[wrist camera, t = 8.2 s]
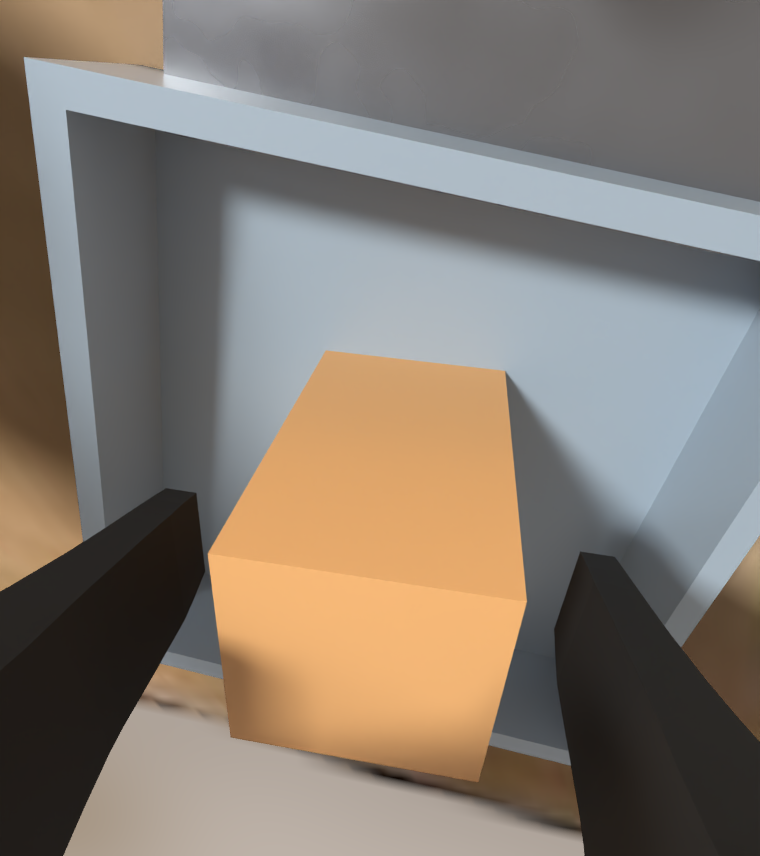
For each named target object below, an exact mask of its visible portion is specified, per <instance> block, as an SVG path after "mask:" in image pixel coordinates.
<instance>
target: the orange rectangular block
mask: <svg viewBox="0 0 760 856" xmlns="http://www.w3.org/2000/svg"><path fill="white" fill-rule="evenodd" d="M208 560H209V568H210V576H211V584H212V592H213V600H214V608H215V616H216V624H217V632H218V640H219V648H220V656H221V664H222V672H223V679H224V687H225V695H226V703H227V711H228V719H229V727H230V735H231V737H232V738H237V739H242V740H248V741H253V742H259V743H264V744H270V745H275V746H281V747H286V748H292V749H297V750H303V751H308V752H314V753H319V754H325V755H330V756H336V757H341V758H347V759H352V760H358V761H363V762H369V763H374V764H380V765H385V766H391V767H396V768H402V769H407V770H413V771H418V772H424V773H429V774H435V775H440V776H446V777H451V778H457V779H462V780H468V781H473V782H479V778H480V774H481V771H482V767H483V763H484V760H485V756H486V752H487V748H488V745H489V741H490V737H491V733H492V730H493V726H494V722H495V719H496V715H497V711H498V707H499V704H500V700H501V696H502V693H503V689H504V685H505V681H506V678H507V674H508V670H509V667H510V663H511V659H512V655H513V652H514V648H515V644H516V641H517V637H518V633H519V629H520V626H521V622H522V618H523V615H524V611H525V607H526V603H527V598H526V587H525V576H524V566H523V555H522V545H521V534H520V523H519V513H518V502H517V492H516V481H515V470H514V460H513V449H512V439H511V428H510V417H509V407H508V396H507V386H506V375H505V371H502V370H494V369H485V368H476V367H467V366H459V365H450V364H441V363H432V362H424V361H415V360H406V359H397V358H389V357H380V356H371V355H362V354H354V353H345V352H336V351H327V350H326V351H325V353H324V354H323V356H322V358H321V360H320V361H319V363H318V365H317V366H316V368H315V370H314V372H313V373H312V375H311V377H310V378H309V380H308V382H307V384H306V385H305V387H304V389H303V391H302V392H301V394H300V396H299V397H298V399H297V401H296V403H295V404H294V406H293V408H292V409H291V411H290V413H289V415H288V416H287V418H286V420H285V421H284V423H283V425H282V427H281V428H280V430H279V432H278V434H277V435H276V437H275V439H274V440H273V442H272V444H271V446H270V447H269V449H268V451H267V452H266V454H265V456H264V458H263V459H262V461H261V463H260V464H259V466H258V468H257V470H256V471H255V473H254V475H253V477H252V478H251V480H250V482H249V483H248V485H247V487H246V489H245V490H244V492H243V494H242V495H241V497H240V499H239V501H238V502H237V504H236V506H235V507H234V509H233V511H232V513H231V514H230V516H229V518H228V520H227V521H226V523H225V525H224V526H223V528H222V530H221V532H220V533H219V535H218V537H217V538H216V540H215V542H214V544H213V545H212V547H211V549H210V550H209V552H208Z"/></svg>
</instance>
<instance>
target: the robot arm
mask: <svg viewBox="0 0 760 856" xmlns="http://www.w3.org/2000/svg"><path fill="white" fill-rule="evenodd" d="M204 573H205V564H204V556H203V547H202V538H201V529H200V520H199V511H198V502H197V493H195V492H188V491H182V490H175V489H169V488H166V489H164V490H162V491H161V492H159V493H157V494H156V495H154V496H153V497H151V498H150V499H148V500H146V501H145V502H143V503H142V504H140V505H139V506H137V507H136V508H134V509H133V510H131V511H130V512H128V513H127V514H125V515H124V516H122V517H121V518H119V519H118V520H116V521H115V522H113V523H112V524H110V525H109V526H107V527H106V528H104V529H103V530H101V531H99V532H98V533H96V534H95V535H93V536H92V537H90V538H89V539H87V540H86V541H84V542H82V543H81V544H79V545H78V546H76V547H75V548H73V549H72V550H70V551H68V552H67V553H65V554H64V555H62V556H60V557H59V558H57V559H55V560H53V561H52V562H50V563H48V564H47V565H45V566H43V567H42V568H40V569H38V570H37V571H35V572H33V573H32V574H30V575H28V576H26V577H25V578H23V579H21V580H20V581H18V582H16V583H15V584H13V585H11V586H10V587H8V588H6V589H4V590H2V591H0V856H63V855H64V853H65V850H66V848H67V846H68V843H69V841H70V839H71V837H72V834H73V832H74V829H75V827H76V825H77V823H78V821H79V818H80V816H81V814H82V811H83V809H84V807H85V805H86V802H87V800H88V798H89V796H90V794H91V792H92V789H93V787H94V785H95V783H96V781H97V779H98V777H99V775H100V772H101V770H102V768H103V766H104V764H105V761H106V759H107V757H108V755H109V753H110V751H111V749H112V747H113V745H114V743H115V741H116V740H117V738H118V736H119V734H120V732H121V730H122V728H123V726H124V725H125V723H126V721H127V719H128V718H129V716H130V714H131V713H132V711H133V709H134V707H135V706H136V704H137V702H138V701H139V699H140V697H141V695H142V694H143V692H144V690H145V689H146V687H147V685H148V683H149V682H150V680H151V678H152V676H153V675H154V673H155V671H156V670H157V668H158V666H159V664H160V663H161V661H162V659H163V657H164V656H165V654H166V652H167V650H168V649H169V647H170V645H171V643H172V642H173V640H174V638H175V636H176V635H177V633H178V631H179V629H180V628H181V626H182V624H183V622H184V620H185V618H186V616H187V614H188V612H189V609H190V607H191V605H192V602H193V600H194V598H195V595H196V593H197V590H198V588H199V585H200V583H201V581H202V578H203V576H204ZM554 637H555V660H556V676H557V687H558V693H559V699H560V705H561V711H562V717H563V723H564V729H565V734H566V740H567V746H568V751H569V757H570V763H571V769H572V774H573V780H574V786H575V791H576V797H577V803H578V808H579V814H580V821H581V829H582V836H583V843H584V853H585V856H760V742H759V741H758V740H757V739H756V737H755V736H754V735H753V734H752V733H751V732H750V731H749V730H748V729H747V727H746V726H745V725H744V724H743V723H742V722H741V721H740V720H739V718H738V717H737V716H736V715H735V714H734V712H733V711H732V710H731V709H730V708H729V707H728V705H727V704H726V703H725V702H724V701H723V699H722V698H721V697H720V696H719V695H718V694H717V692H716V691H715V690H714V689H713V688H712V686H711V685H710V684H709V683H708V682H707V680H706V679H705V678H704V677H703V675H702V674H701V673H700V672H699V670H698V669H697V668H696V667H695V665H694V664H693V663H692V661H691V660H690V659H689V657H688V656H687V655H686V654H685V652H684V651H683V650H682V648H681V647H680V646H679V644H678V643H677V642H676V641H675V639H674V638H673V637H672V635H671V634H670V633H669V631H668V630H667V629H666V627H665V626H664V624H663V623H662V622H661V620H660V619H659V618H658V616H657V615H656V613H655V612H654V611H653V609H652V608H651V607H650V605H649V604H648V602H647V601H646V600H645V598H644V597H643V595H642V594H641V593H640V591H639V590H638V588H637V587H636V585H635V584H634V583H633V581H632V580H631V578H630V577H629V576H628V574H627V573H626V571H625V570H624V569H623V567H622V566H621V564H620V563H619V562H618V560H617V559H616V558H615V557H613V556H607V555H600V554H594V553H587V552H581V551H580V554H579V556H578V559H577V562H576V565H575V568H574V571H573V574H572V577H571V580H570V583H569V586H568V589H567V592H566V595H565V598H564V601H563V604H562V607H561V610H560V613H559V616H558V619H557V622H556V625H555V628H554Z"/></svg>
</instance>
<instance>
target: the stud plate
mask: <svg viewBox="0 0 760 856" xmlns="http://www.w3.org/2000/svg"><path fill="white" fill-rule="evenodd" d="M163 54H164V74H166V75H171V76H175V77H180V78H185V79H189V80H194V81H199V82H203V83H208V84H213V85H217V86H222V87H227V88H231V89H236V90H241V91H245V92H250V93H255V94H259V95H264V96H269V97H273V98H278V99H283V100H287V101H292V102H297V103H301V104H306V105H311V106H315V107H320V108H325V109H329V110H334V111H339V112H343V113H348V114H353V115H357V116H362V117H367V118H371V119H376V120H381V121H385V122H390V123H395V124H399V125H404V126H408V127H413V128H418V129H422V130H427V131H432V132H436V133H441V134H446V135H450V136H455V137H460V138H464V139H469V140H474V141H478V142H483V143H488V144H492V145H497V146H502V147H506V148H511V149H516V150H520V151H525V152H530V153H534V154H539V155H544V156H548V157H553V158H558V159H562V160H567V161H572V162H576V163H581V164H586V165H590V166H595V167H600V168H604V169H609V170H614V171H618V172H623V173H628V174H632V175H637V176H642V177H646V178H651V179H656V180H660V181H665V182H670V183H674V184H679V185H684V186H688V187H693V188H697V189H702V190H707V191H711V192H716V193H721V194H725V195H730V196H735V197H739V198H744V199H749V200H753V201H758V202H760V0H163ZM165 133H168V134H173V135H178V136H182V137H187V138H191V139H196V140H201V141H205V142H210V143H214V144H219V145H223V146H228V147H233V148H237V149H242V150H246V151H251V152H256V153H260V154H265V155H269V156H274V157H279V158H283V159H288V160H292V161H297V162H301V163H306V164H311V165H315V166H320V167H324V168H329V169H334V170H338V171H343V172H347V173H352V174H357V175H361V176H366V177H370V178H375V179H379V180H384V181H389V182H393V183H398V184H402V185H407V186H412V187H416V188H421V189H425V190H430V191H435V192H439V193H444V194H448V195H453V196H457V197H462V198H467V199H471V200H476V201H480V202H485V203H490V204H494V205H499V206H503V207H508V208H512V209H517V210H522V211H526V212H531V213H535V214H540V215H545V216H549V217H554V218H558V219H563V220H568V221H572V222H577V223H581V224H586V225H590V226H595V227H600V228H604V229H609V230H613V231H618V232H623V233H627V234H632V235H636V236H641V237H646V238H650V239H655V240H659V241H664V242H668V243H673V244H678V245H682V246H687V247H691V248H696V249H701V250H705V251H710V252H714V253H719V254H724V255H728V256H733V257H737V258H742V259H746V260H751V261H756V262H760V261H758V260H753V259H749V258H744V257H740V256H735V255H730V254H726V253H721V252H717V251H712V250H707V249H703V248H698V247H694V246H689V245H684V244H680V243H675V242H671V241H666V240H661V239H657V238H652V237H648V236H643V235H639V234H634V233H629V232H625V231H620V230H616V229H611V228H606V227H602V226H597V225H593V224H588V223H583V222H579V221H574V220H570V219H565V218H561V217H556V216H551V215H547V214H542V213H538V212H533V211H528V210H524V209H519V208H515V207H510V206H505V205H501V204H496V203H492V202H487V201H482V200H478V199H473V198H469V197H464V196H460V195H455V194H450V193H446V192H441V191H437V190H432V189H427V188H423V187H418V186H414V185H409V184H404V183H400V182H395V181H391V180H386V179H382V178H377V177H372V176H368V175H363V174H359V173H354V172H349V171H345V170H340V169H336V168H331V167H326V166H322V165H317V164H313V163H308V162H303V161H299V160H294V159H290V158H285V157H281V156H276V155H271V154H267V153H262V152H258V151H253V150H248V149H244V148H239V147H235V146H230V145H225V144H221V143H216V142H212V141H207V140H203V139H198V138H193V137H189V136H184V135H180V134H175V133H170V132H166V131H165Z"/></svg>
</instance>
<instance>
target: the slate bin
mask: <svg viewBox="0 0 760 856" xmlns="http://www.w3.org/2000/svg"><path fill="white" fill-rule="evenodd" d="M24 64H25V72H26V80H27V88H28V96H29V104H30V112H31V121H32V129H33V137H34V145H35V153H36V161H37V169H38V178H39V186H40V194H41V202H42V210H43V218H44V226H45V235H46V243H47V251H48V259H49V267H50V275H51V283H52V291H53V300H54V308H55V316H56V324H57V332H58V340H59V348H60V357H61V365H62V373H63V381H64V389H65V397H66V405H67V414H68V422H69V430H70V438H71V446H72V454H73V462H74V471H75V479H76V487H77V495H78V503H79V511H80V519H81V528H82V536H83V542H84V541H86V540H87V539H89V538H90V537H92V536H93V535H95V534H96V533H98V532H99V531H101V530H103V529H104V528H106V527H107V526H109V525H110V524H112V523H113V522H115V521H116V520H118V519H119V518H121V517H122V516H124V515H125V514H127V513H128V512H130V511H131V510H133V509H134V508H136V507H137V506H139V505H140V504H142V503H143V502H145V501H146V500H148V499H150V498H151V497H153V496H154V495H156V494H157V493H159V492H161V491H162V490H164V489H166V488H169V489H175V490H182V491H188V492H195V493H197V502H198V511H199V520H200V529H201V538H202V547H203V556H204V564H205V573H204V576H203V578H202V581H201V583H200V585H199V588H198V590H197V593H196V595H195V598H194V600H193V602H192V605H191V607H190V609H189V612H188V614H187V616H186V618H185V620H184V622H183V624H182V626H181V628H180V629H179V631H178V633H177V635H176V636H175V638H174V640H173V642H172V643H171V645H170V647H169V649H168V650H167V652H166V654H165V656H164V657H163V659H162V661H161V664H165V665H169V666H173V667H177V668H181V669H185V670H189V671H193V672H197V673H201V674H205V675H209V676H213V677H217V678H221V679H223V672H222V664H221V656H220V648H219V640H218V632H217V624H216V616H215V608H214V600H213V592H212V584H211V576H210V568H209V560H208V552H209V550H210V549H211V547H212V545H213V544H214V542H215V540H216V538H217V537H218V535H219V533H220V532H221V530H222V528H223V526H224V525H225V523H226V521H227V520H228V518H229V516H230V514H231V513H232V511H233V509H234V507H235V506H236V504H237V502H238V501H239V499H240V497H241V495H242V494H243V492H244V490H245V489H246V487H247V485H248V483H249V482H250V480H251V478H252V477H253V475H254V473H255V471H256V470H257V468H258V466H259V464H260V463H261V461H262V459H263V458H264V456H265V454H266V452H267V451H268V449H269V447H270V446H271V444H272V442H273V440H274V439H275V437H276V435H277V434H278V432H279V430H280V428H281V427H282V425H283V423H284V421H285V420H286V418H287V416H288V415H289V413H290V411H291V409H292V408H293V406H294V404H295V403H296V401H297V399H298V397H299V396H300V394H301V392H302V391H303V389H304V387H305V385H306V384H307V382H308V380H309V378H310V377H311V375H312V373H313V372H314V370H315V368H316V366H317V365H318V363H319V361H320V360H321V358H322V356H323V354H324V353H325V351H326V350H327V351H336V352H345V353H354V354H362V355H371V356H380V357H389V358H397V359H406V360H415V361H424V362H432V363H441V364H450V365H459V366H467V367H476V368H485V369H494V370H502V371H505V375H506V386H507V396H508V407H509V417H510V428H511V439H512V449H513V460H514V470H515V481H516V492H517V502H518V513H519V523H520V534H521V545H522V555H523V566H524V576H525V587H526V598H527V603H526V607H525V611H524V615H523V618H522V622H521V626H520V629H519V633H518V637H517V641H516V644H515V648H514V652H513V655H512V659H511V663H510V667H509V670H508V674H507V678H506V681H505V685H504V689H503V693H502V696H501V700H500V704H499V707H498V711H497V715H496V719H495V722H494V726H493V730H492V733H491V737H490V741H489V745H490V746H494V747H498V748H502V749H506V750H510V751H514V752H518V753H522V754H526V755H530V756H534V757H538V758H542V759H546V760H550V761H554V762H558V763H562V764H566V765H570V766H571V763H570V757H569V751H568V746H567V740H566V734H565V729H564V723H563V717H562V711H561V705H560V699H559V693H558V687H557V676H556V660H555V637H554V628H555V625H556V622H557V619H558V616H559V613H560V610H561V607H562V604H563V601H564V598H565V595H566V592H567V589H568V586H569V583H570V580H571V577H572V574H573V571H574V568H575V565H576V562H577V559H578V556H579V554H580V551H581V552H587V553H594V554H600V555H607V556H613V557H615V558H616V559H617V560H618V562H619V563H620V564H621V566H622V567H623V569H624V570H625V571H626V573H627V574H628V576H629V577H630V578H631V580H632V581H633V583H634V584H635V585H636V587H637V588H638V590H639V591H640V593H641V594H642V595H643V597H644V598H645V600H646V601H647V602H648V604H649V605H650V607H651V608H652V609H653V611H654V612H655V613H656V615H657V616H658V618H659V619H660V620H661V622H662V623H663V624H664V626H665V627H666V629H667V630H668V631H669V633H670V634H671V635H672V637H673V638H674V639H675V641H676V642H677V643H678V644H679V646H680V647H682V645H683V644H684V643H685V641H686V640H687V638H688V637H689V635H690V634H691V633H692V631H693V630H694V628H695V627H696V625H697V624H698V623H699V621H700V620H701V618H702V617H703V615H704V614H705V613H706V611H707V610H708V608H709V607H710V605H711V604H712V603H713V601H714V600H715V598H716V597H717V595H718V594H719V593H720V591H721V590H722V588H723V587H724V586H725V584H726V583H727V581H728V580H729V578H730V577H731V576H732V574H733V573H734V571H735V570H736V568H737V567H738V566H739V564H740V563H741V561H742V560H743V558H744V557H745V556H746V554H747V553H748V551H749V550H750V548H751V547H752V546H753V544H754V543H755V541H756V540H757V538H758V537H759V536H760V262H756V261H751V260H746V259H742V258H737V257H733V256H728V255H724V254H719V253H714V252H710V251H705V250H701V249H696V248H691V247H687V246H682V245H678V244H673V243H668V242H664V241H659V240H655V239H650V238H646V237H641V236H636V235H632V234H627V233H623V232H618V231H613V230H609V229H604V228H600V227H595V226H590V225H586V224H581V223H577V222H572V221H568V220H563V219H558V218H554V217H549V216H545V215H540V214H535V213H531V212H526V211H522V210H517V209H512V208H508V207H503V206H499V205H494V204H490V203H485V202H480V201H476V200H471V199H467V198H462V197H457V196H453V195H448V194H444V193H439V192H435V191H430V190H425V189H421V188H416V187H412V186H407V185H402V184H398V183H393V182H389V181H384V180H379V179H375V178H370V177H366V176H361V175H357V174H352V173H347V172H343V171H338V170H334V169H329V168H324V167H320V166H315V165H311V164H306V163H301V162H297V161H292V160H288V159H283V158H279V157H274V156H269V155H265V154H260V153H256V152H251V151H246V150H242V149H237V148H233V147H228V146H223V145H219V144H214V143H210V142H205V141H201V140H196V139H191V138H187V137H182V136H178V135H173V134H168V133H165V131H166V132H170V133H175V134H180V135H184V136H189V137H193V138H198V139H203V140H207V141H212V142H216V143H221V144H225V145H230V146H235V147H239V148H244V149H248V150H253V151H258V152H262V153H267V154H271V155H276V156H281V157H285V158H290V159H294V160H299V161H303V162H308V163H313V164H317V165H322V166H326V167H331V168H336V169H340V170H345V171H349V172H354V173H359V174H363V175H368V176H372V177H377V178H382V179H386V180H391V181H395V182H400V183H404V184H409V185H414V186H418V187H423V188H427V189H432V190H437V191H441V192H446V193H450V194H455V195H460V196H464V197H469V198H473V199H478V200H482V201H487V202H492V203H496V204H501V205H505V206H510V207H515V208H519V209H524V210H528V211H533V212H538V213H542V214H547V215H551V216H556V217H561V218H565V219H570V220H574V221H579V222H583V223H588V224H593V225H597V226H602V227H606V228H611V229H616V230H620V231H625V232H629V233H634V234H639V235H643V236H648V237H652V238H657V239H661V240H666V241H671V242H675V243H680V244H684V245H689V246H694V247H698V248H703V249H707V250H712V251H717V252H721V253H726V254H730V255H735V256H740V257H744V258H749V259H753V260H758V261H760V202H758V201H753V200H749V199H744V198H739V197H735V196H730V195H725V194H721V193H716V192H711V191H707V190H702V189H697V188H693V187H688V186H684V185H679V184H674V183H670V182H665V181H660V180H656V179H651V178H646V177H642V176H637V175H632V174H628V173H623V172H618V171H614V170H609V169H604V168H600V167H595V166H590V165H586V164H581V163H576V162H572V161H567V160H562V159H558V158H553V157H548V156H544V155H539V154H534V153H530V152H525V151H520V150H516V149H511V148H506V147H502V146H497V145H492V144H488V143H483V142H478V141H474V140H469V139H464V138H460V137H455V136H450V135H446V134H441V133H436V132H432V131H427V130H422V129H418V128H413V127H408V126H404V125H399V124H395V123H390V122H385V121H381V120H376V119H371V118H367V117H362V116H357V115H353V114H348V113H343V112H339V111H334V110H329V109H325V108H320V107H315V106H311V105H306V104H301V103H297V102H292V101H287V100H283V99H278V98H273V97H269V96H264V95H259V94H255V93H250V92H245V91H241V90H236V89H231V88H227V87H222V86H217V85H213V84H208V83H203V82H199V81H194V80H189V79H185V78H180V77H175V76H171V75H166V74H164V70H161V69H156V68H152V67H147V66H142V65H134V64H119V63H105V62H90V61H75V60H61V59H46V58H31V57H24Z"/></svg>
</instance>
